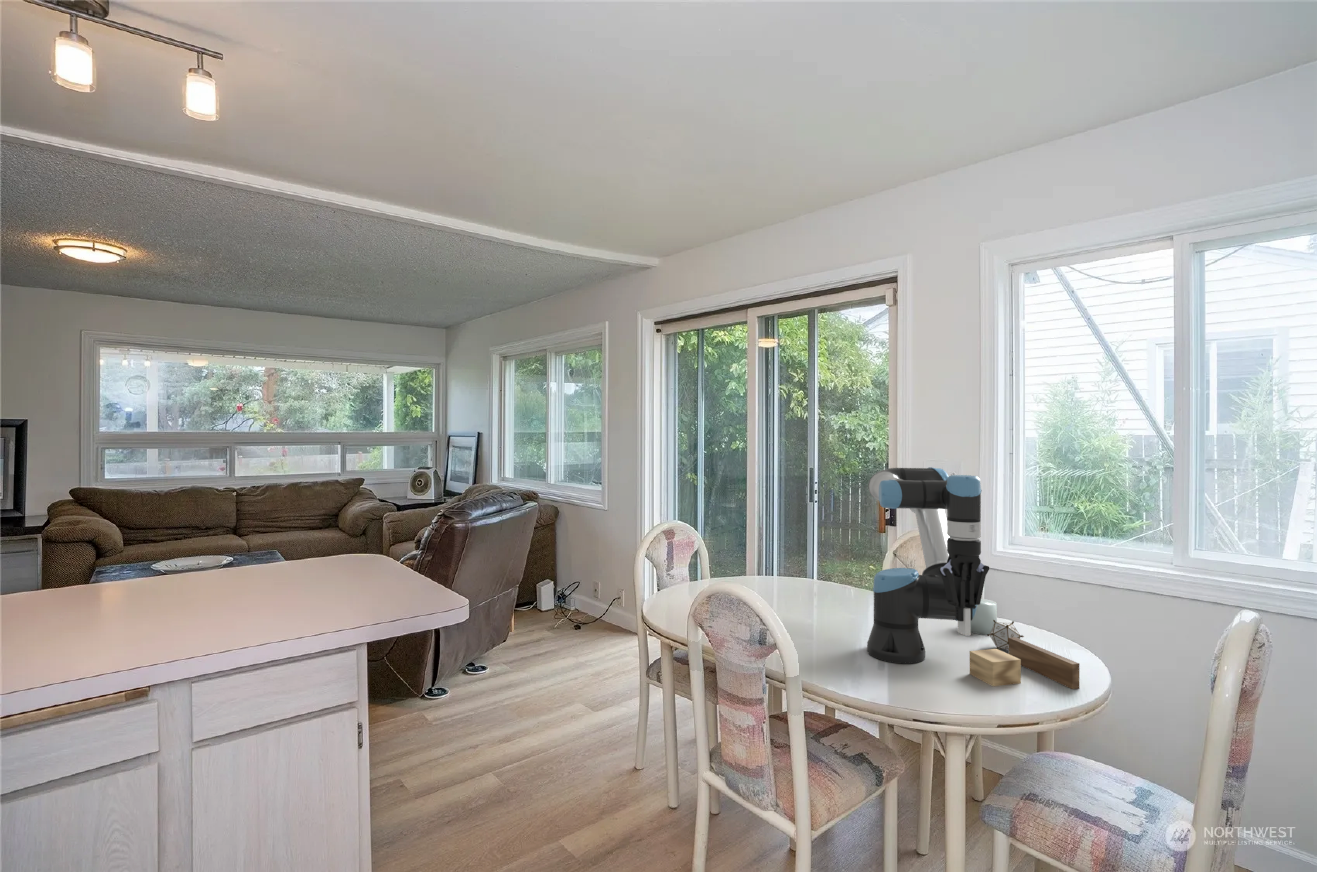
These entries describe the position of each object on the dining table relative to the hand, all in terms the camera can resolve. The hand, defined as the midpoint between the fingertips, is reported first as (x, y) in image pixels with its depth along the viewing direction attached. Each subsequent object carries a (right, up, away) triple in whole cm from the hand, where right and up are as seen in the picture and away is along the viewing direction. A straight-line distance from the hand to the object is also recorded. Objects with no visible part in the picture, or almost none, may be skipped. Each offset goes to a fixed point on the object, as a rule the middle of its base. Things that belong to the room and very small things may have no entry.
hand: (964, 633), depth 155 cm
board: (+23, -12, +6) cm, 26 cm away
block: (+9, -12, +2) cm, 15 cm away
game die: (+23, -12, +23) cm, 34 cm away
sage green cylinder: (+25, -12, +40) cm, 48 cm away
